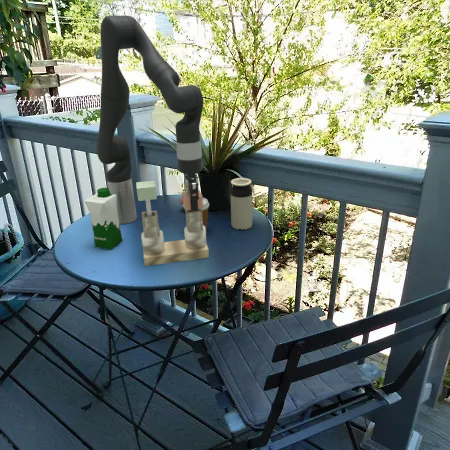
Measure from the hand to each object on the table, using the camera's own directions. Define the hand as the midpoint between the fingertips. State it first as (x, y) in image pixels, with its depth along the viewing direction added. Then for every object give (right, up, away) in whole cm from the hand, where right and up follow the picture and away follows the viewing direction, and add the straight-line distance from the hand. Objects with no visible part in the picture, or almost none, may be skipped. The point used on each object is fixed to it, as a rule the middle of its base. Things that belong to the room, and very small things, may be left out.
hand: (193, 206), depth 129 cm
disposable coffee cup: (0, -8, +22) cm, 23 cm away
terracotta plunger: (0, -6, +3) cm, 7 cm away
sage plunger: (-14, -3, -2) cm, 14 cm away
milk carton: (-31, -13, +15) cm, 37 cm away
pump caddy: (-6, -16, +6) cm, 18 cm away
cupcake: (-4, 0, +39) cm, 39 cm away
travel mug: (+17, -6, +25) cm, 31 cm away
